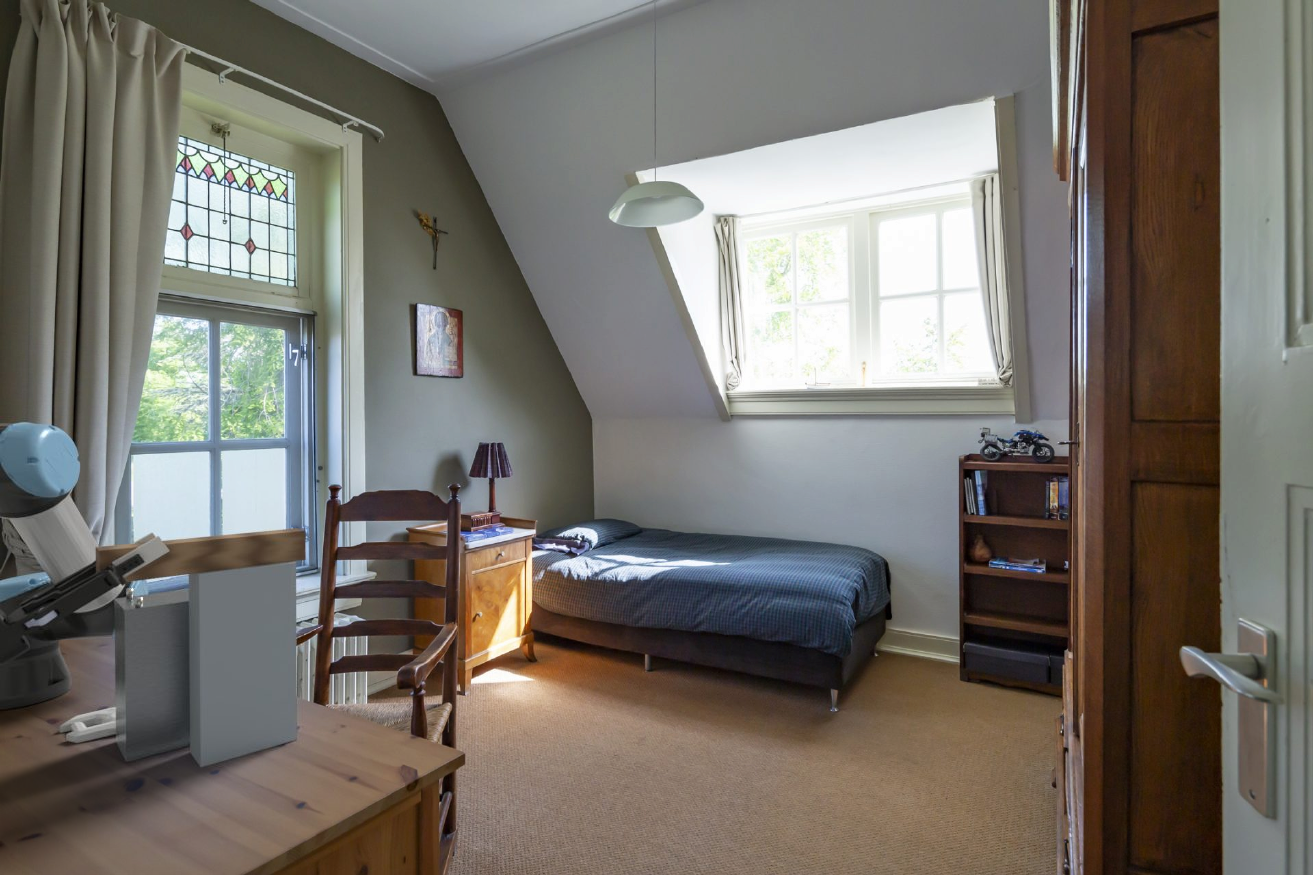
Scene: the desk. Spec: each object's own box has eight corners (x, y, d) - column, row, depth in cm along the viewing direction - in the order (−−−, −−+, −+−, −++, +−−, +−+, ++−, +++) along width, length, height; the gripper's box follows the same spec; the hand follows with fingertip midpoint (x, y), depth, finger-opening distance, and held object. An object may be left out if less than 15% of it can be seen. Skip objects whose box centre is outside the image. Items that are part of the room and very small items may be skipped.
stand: (190, 752, 116) (188, 567, 115) (283, 726, 126) (282, 556, 125) (200, 767, 111) (199, 574, 110) (297, 739, 121) (296, 562, 120)
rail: (99, 585, 103) (99, 550, 103) (95, 580, 106) (95, 547, 106) (305, 559, 123) (305, 530, 123) (297, 556, 126) (297, 528, 125)
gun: (184, 685, 136) (189, 703, 128) (186, 703, 136) (190, 722, 128) (60, 714, 125) (56, 735, 117) (61, 733, 125) (58, 756, 117)
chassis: (116, 741, 120) (114, 589, 119) (224, 714, 131) (223, 575, 130) (126, 762, 113) (124, 600, 112) (240, 731, 124) (239, 584, 123)
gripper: (-4, 651, 103) (163, 553, 117) (2, 683, 91) (188, 569, 105) (-41, 611, 101) (135, 515, 115) (-40, 638, 88) (157, 527, 102)
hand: (160, 541), depth 110 cm, fingers closed on rail, 4 cm apart
